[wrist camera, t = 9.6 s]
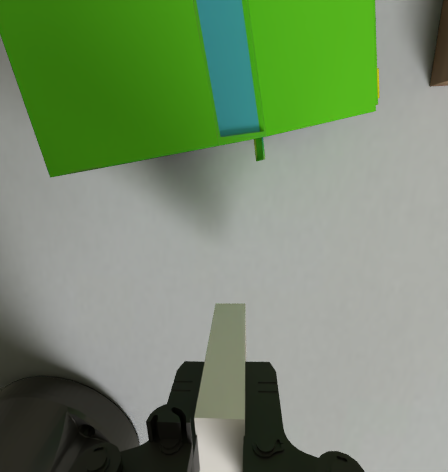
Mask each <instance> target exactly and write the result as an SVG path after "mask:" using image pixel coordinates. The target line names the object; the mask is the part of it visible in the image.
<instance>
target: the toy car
mask: <svg viewBox="0 0 448 472" xmlns="http://www.w3.org/2000/svg"><path fill="white" fill-rule="evenodd" d="M0 35H1V38H2V41H3V43H4V46H5V49H6V52H7V55H8V58H9V61H10V63H11V66H12V69H13V72H14V75H15V78H16V81H17V84H18V86H19V89H20V92H21V95H22V98H23V101H24V104H25V106H26V109H27V112H28V115H29V118H30V121H31V124H32V126H33V129H34V132H35V135H36V138H37V141H38V144H39V147H40V149H41V152H42V155H43V158H44V161H45V164H46V167H47V169H48V172H49V175H50V177H55V176H60V175H66V174H71V173H77V172H82V171H88V170H93V169H98V168H104V167H109V166H115V165H120V164H125V163H131V162H136V161H142V160H147V159H152V158H157V157H162V156H167V155H172V154H178V153H183V152H188V151H193V150H199V149H204V148H209V147H215V146H220V145H225V144H230V143H236V142H241V141H246V140H251V139H254V145H255V155H256V161H260V160H264V159H265V153H264V143H263V137H266V136H271V135H275V134H279V133H283V132H288V131H292V130H296V129H301V128H307V127H311V126H314V125H318V124H322V123H326V122H331V121H335V120H339V119H344V118H348V117H352V116H357V115H361V114H365V113H369V112H374V111H376V105H378V98H379V68H377V52H376V18H375V0H0Z"/></svg>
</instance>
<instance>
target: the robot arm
mask: <svg viewBox="0 0 448 472" xmlns="http://www.w3.org/2000/svg"><path fill="white" fill-rule="evenodd" d="M146 424H147V430H148V437H149V441H147V442H146V443H144V444H143V445H140V446H139V441H138V438H137V435H136V433H135V430H134V428H133V426H132V425H131V423H130V422H129V420H128V419H127V417H126V416H125V415H124V414H123V413H122V411H121V410H120V409H119V408H118V407H117V406H116V405H114V404H113V403H112V402H111V401H110V400H108V399H107V398H106V397H104V396H103V395H101V394H100V393H98V392H96V391H95V390H93V389H91V388H89V387H87V386H84V385H82V384H79V383H77V382H73V381H70V380H66V379H62V378H56V377H30V378H25V379H21V380H18V381H16V382H14V383H12V384H10V385H8V386H7V387H5V388H4V389H3V390H2V391H1V392H0V472H364V470H363V469H362V467H361V466H360V465H359V464H358V462H357V461H355V460H354V459H353V458H351V457H350V456H349V455H347V454H344V453H341V452H338V451H328V452H326V453H324V454H322V455H321V456H320V457H319V458H317V457H314V456H312V455H309V454H306V453H304V452H302V451H300V450H298V449H297V448H296V447H294V446H293V445H292V444H291V443H290V441H289V440H288V439H287V437H286V435H285V433H284V429H283V422H282V415H281V407H280V399H279V393H278V385H277V376H276V371H275V370H274V368H273V367H272V365H271V364H270V362H246V320H245V304H216V305H215V310H214V315H213V320H212V326H211V331H210V336H209V342H208V347H207V352H206V358H205V362H190V361H185V362H184V363H183V364H182V365H181V366H180V368H179V369H178V370H177V373H176V376H175V379H174V383H173V386H172V389H171V392H170V396H169V399H168V402H167V404H165V405H163V406H161V407H159V408H157V409H156V410H154V411H153V412H152V413H151V414H150V416H149V417H148V419H147V421H146Z"/></svg>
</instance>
